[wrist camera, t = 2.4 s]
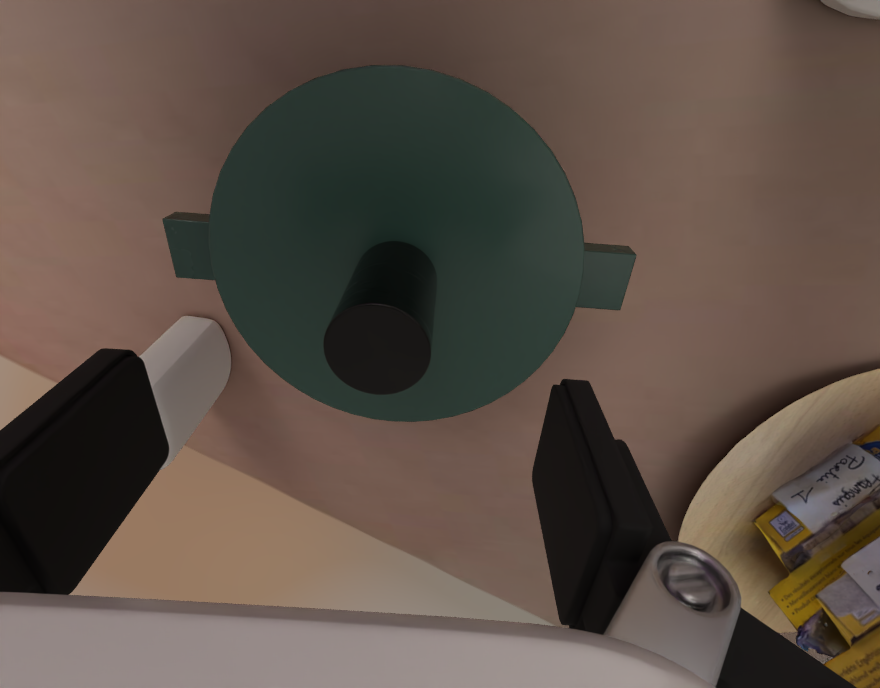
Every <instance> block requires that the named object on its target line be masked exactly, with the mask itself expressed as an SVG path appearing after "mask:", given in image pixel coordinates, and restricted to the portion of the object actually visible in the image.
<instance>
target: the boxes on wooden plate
mask: <svg viewBox="0 0 880 688" xmlns="http://www.w3.org/2000/svg"><path fill="white" fill-rule="evenodd" d="M678 541H679V542H683V543H687V544H691V545H693V546H695V547H698V548H700V549H702V550H704V551H706V552H707V553H709V554H710V555H711V556H713V557H714V558H716V559H717V560H718V561H719V562H720V563H721V564H722V565H723V566H724V567H725V568H726V569H727V570H728V571H729V572H730V574H731V575H732V577H733V578H734V580H735V581H736V583H737V585H738V588H739V591H740V594H741V608H742V609H744V610H745V611H747V612H748V613H750V614H751V615H753V616H754V617H755V618H757V619H758V620H760V621H761V622H763V623H764V624H766V625H767V626H769V627H770V628H771V629H773V630H774V631H776V632H777V633H783V632H784V633H786V632H797V636H796V643H797V645H798V646H800V647H801V648H802V649H804V650H806V651H807V652H808V648H810V649H815V650H816V651H817V653H819V654H825V655H828V656H830V657H833V659H831V660H830V661H828V662H826V663H825V664H823V665H825V666H826V667H828V668H829V669H831V670H832V671H834V672H835V673H836V674H838V675H839V676H841V677H842V678H844V679H845V680H847V681H848V682H849V683H851V684H852V685H854V686H855V687H857V688H880V369H877V370H872V371H870V372H865V373H861V374H857V375H855V376H852V377H849V378H846V379H843V380H840V381H837V382H835V383H833V384H830V385H828V386H826V387H824V388H822V389H820V390H817V391H815V392H813V393H811V394H809V395H807V396H805V397H803V398H802V399H799V400H797V401H796V402H794V403H792V404H790V405H788V406H787V407H786V408H784V409H782V410H781V411H779V412H778V413H776V414H775V415H773V416H772V417H770V418H769V419H768V420H766V421H765V422H764V423H762V424H761V425H759V426H758V427H757V428H756V429H755V430H753V431H752V432H751V433H750V434H748V435H747V436H746V437H745V438H743V439H742V440H741V441H740V442H739V443H738V444H736V445H735V447H734V448H732V449H731V450H730V451H729V453H728V454H727V455H726V456H725V458H724V459H723V460H721V461H720V462H719V463H718V465H717V466H716V467H715V468H714V469H713V471H712V472H711V473H710V475H709V476H708V477H707V479H706V480H705V481H704V482H703V484H702V485H701V487H700V489H699V490H698V492H697V493H696V495H695V497H694V498H693V500H692V502H691V504H690V506H689V508H688V511H687V512H686V515H685V517H684V521H683V524H682V526H681V529H680V533H679V538H678ZM827 660H828V658H827Z"/></svg>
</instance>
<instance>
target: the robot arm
mask: <svg viewBox="0 0 880 688" xmlns="http://www.w3.org/2000/svg"><path fill="white" fill-rule="evenodd" d="M820 1H821V2H822V3H824V4H825V5H826V6H828V7H831V8H833V9H835V10H838V11H840V12H842V13H844V14H847V15H849V16H854V17H861V18H868V19H875V20H880V0H820ZM168 455H169V444H168V440H167V437H166V434H165V430H164V427H163V424H162V420H161V417H160V414H159V410H158V407H157V404H156V400H155V397H154V394H153V390H152V387H151V384H150V380H149V377H148V374H147V371H146V367H145V364H144V361H143V360H142V359H141V358H140V357H137V355H136V354H135V353H134V352H133V351H131V350H122V349H107V348H105V349H101V350H99V351H97V352H96V353H95V354H94V355H92V356H91V357H90V358H89V359H87V360H86V361H85V362H84V363H82V364H81V365H80V366H79V367H78V368H76V369H75V370H74V371H73V372H71V373H70V374H69V375H68V376H67V377H65V378H64V379H63V380H62V381H60V382H59V383H58V384H57V385H56V386H54V387H53V388H52V389H51V390H49V391H48V392H47V393H46V394H44V395H43V396H42V397H41V398H40V399H38V400H37V401H36V402H35V403H33V405H31V406H30V407H29V408H28V409H26V410H25V411H24V412H22V413H21V414H20V415H19V416H18V417H16V418H15V419H14V420H13V421H11V422H10V423H9V424H8V425H6V426H5V427H4V428H3V429H2V430H0V688H857V687H855V686H854V685H852V684H851V683H849V682H848V681H847V680H845V679H844V678H842V677H841V676H839V675H838V674H836V673H835V672H834V671H832V670H831V669H829V668H828V667H826V666H825V665H823V664H822V663H821V662H819V661H818V660H816V659H815V658H813V657H812V656H810V655H809V654H808V653H806V652H805V651H803V650H802V649H800V648H799V647H797V646H796V645H795V644H793V643H792V642H790V641H789V640H787V639H786V638H784V637H783V636H782V635H780V634H779V633H777V632H776V631H774V630H773V629H771V628H770V627H769V626H767V625H766V624H764V623H763V622H761V621H760V620H758V619H757V618H755V617H754V616H753V615H751V614H750V613H748V612H747V611H745V610H744V609H742V608H741V594H740V591H739V588H738V585H737V583H736V581H735V580H734V578H733V577H732V575H731V574H730V572H729V571H728V570H727V569H726V568H725V567H724V566H723V565H722V564H721V563H720V562H719V561H718V560H717V559H716V558H714V557H713V556H711V555H710V554H709V553H707V552H706V551H704V550H702V549H700V548H698V547H695V546H693V545H691V544H687V543H683V542H679V541H671V539H670V537H669V534H668V532H667V530H666V528H665V526H664V524H663V522H662V519H661V517H660V515H659V513H658V511H657V509H656V506H655V504H654V502H653V500H652V498H651V496H650V494H649V491H648V489H647V487H646V485H645V483H644V481H643V478H642V476H641V474H640V472H639V470H638V468H637V466H636V463H635V461H634V459H633V457H632V455H631V453H630V450H629V448H628V447H627V445H626V443H625V442H624V441H622V440H616V439H614V437H613V435H612V433H611V430H610V428H609V426H608V423H607V421H606V419H605V417H604V414H603V412H602V410H601V407H600V405H599V403H598V401H597V398H596V396H595V394H594V391H593V389H592V387H591V385H590V383H589V381H585V380H570V379H563V380H562V381H561V383H560V385H553V387H552V389H551V393H550V398H549V402H548V406H547V411H546V415H545V419H544V423H543V428H542V432H541V436H540V440H539V445H538V449H537V453H536V458H535V462H534V466H533V472H532V482H533V488H534V493H535V498H536V503H537V508H538V514H539V519H540V524H541V529H542V534H543V539H544V544H545V549H546V554H547V559H548V564H549V569H550V575H551V580H552V585H553V590H554V595H555V600H556V605H557V610H558V615H559V619H560V622H561V624H562V625H569V628H563V627H555V626H548V625H539V624H531V623H519V622H506V621H494V620H481V619H469V618H457V617H442V616H426V615H411V614H395V613H379V612H363V611H347V610H331V609H330V610H329V609H314V608H296V607H279V606H262V605H245V604H228V603H208V602H192V601H174V600H156V599H137V598H136V599H135V598H118V597H98V596H79V595H69V594H70V593H71V592H72V591H73V590H74V589H75V588H76V586H77V585H78V583H79V582H80V581H81V579H82V578H83V576H84V575H85V574H86V572H87V571H88V569H89V568H90V567H91V565H92V564H93V563H94V561H95V560H96V558H97V557H98V555H99V554H100V553H101V551H102V550H103V549H104V547H105V546H106V544H107V543H108V542H109V540H110V539H111V537H112V536H113V535H114V533H115V532H116V530H117V529H118V527H119V526H120V525H121V523H122V522H123V521H124V519H125V518H126V516H127V515H128V514H129V512H130V511H131V509H132V508H133V507H134V505H135V504H136V502H137V501H138V500H139V498H140V497H141V495H142V494H143V493H144V491H145V490H146V488H147V487H148V486H149V484H150V483H151V481H152V480H153V479H154V477H155V476H156V474H157V473H158V472H159V470H160V469H161V467H162V466H163V465H164V463H165V462H166V460H167V458H168Z"/></svg>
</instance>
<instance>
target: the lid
mask: <svg viewBox="0 0 880 688" xmlns="http://www.w3.org/2000/svg"><path fill="white" fill-rule="evenodd" d="M209 249H210V257H211V265H212V269H213V273H214V277H215V280H216V284H217V288H218V291H219V293H220V296H221V298H222V300H223V303H224V305H225V308H226V310H227V312H228V314H229V315H230V317H231V319H232V321H233V323H234V324H235V326H236V328H237V330H238V331H239V332H240V334H241V335H242V337H243V338H244V339H245V341H246V342H247V344H248V345H249V346H250V347H251V349H252V350H253V351H254V352H255V353H256V354H257V355H258V356H259V357H260V359H261V360H262V361H263V362H264V363H265V364H266V365H267V366H269V367H270V368H271V369H272V370H273V371H274V372H275V373H276V374H277V375H279V376H280V377H281V378H282V379H284V380H285V381H287V382H288V383H289V384H291V385H292V386H294V387H295V388H296V389H298V390H300V391H301V392H303V393H305V394H307V395H308V396H310V397H312V398H313V399H315V400H317V401H320V402H322V403H324V404H326V405H329V406H331V407H333V408H336V409H339V410H342V411H345V412H348V413H351V414H354V415H358V416H363V417H367V418H372V419H379V420H387V421H402V422H416V421H429V420H437V419H442V418H447V417H453V416H456V415H459V414H463V413H466V412H470V411H473V410H475V409H477V408H480V407H482V406H484V405H487V404H489V403H491V402H493V401H495V400H497V399H498V398H500V397H502V396H504V395H506V394H507V393H509V392H510V391H512V390H513V389H514V388H516V387H517V386H518V385H520V384H521V383H523V382H524V381H525V380H526V379H527V378H528V377H529V376H530V375H532V374H533V373H534V372H535V371H536V370H537V369H538V368H539V367H540V366H541V365H542V364H543V362H544V361H545V360H546V359H547V358H548V356H549V355H550V354H551V353H552V352H553V350H554V349H555V347H556V345H557V344H558V342H559V341H560V339H561V338H562V336H563V335H564V333H565V331H566V328H567V326H568V324H569V322H570V320H571V318H572V316H573V314H574V310H575V307H576V304H577V301H578V298H579V295H580V290H581V285H582V279H583V273H584V251H585V246H584V237H583V228H582V221H581V217H580V213H579V209H578V206H577V202H576V198H575V195H574V193H573V191H572V188H571V186H570V184H569V181H568V179H567V176H566V174H565V172H564V171H563V169H562V167H561V166H560V164H559V162H558V161H557V159H556V157H555V156H554V154H553V152H552V151H551V149H550V148H549V147H548V146H547V144H546V143H545V142H544V141H543V140H542V138H541V137H540V136H539V135H538V133H537V132H536V131H535V130H534V129H533V128H532V127H531V126H530V125H529V124H528V123H527V122H526V121H525V120H524V119H523V118H521V117H520V116H519V115H518V114H517V113H516V112H515V111H514V110H513V109H512V108H510V107H509V106H507V105H506V104H505V103H503V102H502V101H500V100H499V99H497V98H496V97H494V96H493V95H491V94H490V93H488V92H487V91H485V90H483V89H481V88H479V87H477V86H475V85H472V84H470V83H468V82H466V81H464V80H462V79H460V78H457V77H454V76H450V75H447V74H444V73H441V72H438V71H434V70H430V69H424V68H418V67H411V66H405V65H370V66H363V67H357V68H350V69H343V70H339V71H336V72H333V73H330V74H327V75H324V76H321V77H317V78H314V79H312V80H310V81H308V82H306V83H304V84H302V85H300V86H298V87H296V88H294V89H292V90H290V91H288V92H287V93H286V94H284V95H283V96H281V97H280V98H279V99H277V100H276V101H275V102H273V103H272V104H270V105H269V106H268V107H266V108H265V109H264V110H263V111H262V112H261V113H260V114H259V115H258V116H257V117H256V118H255V119H254V120H253V121H252V122H251V123H250V124H249V125H248V126H247V128H246V129H245V130H244V132H243V133H242V135H241V136H240V137H239V139H238V140H237V142H236V143H235V144H234V146H233V147H232V149H231V151H230V153H229V155H228V157H227V159H226V161H225V163H224V165H223V167H222V169H221V171H220V174H219V177H218V180H217V183H216V186H215V190H214V193H213V197H212V204H211V210H210V216H209Z"/></svg>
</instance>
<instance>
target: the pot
mask: <svg viewBox="0 0 880 688" xmlns="http://www.w3.org/2000/svg"><path fill="white" fill-rule="evenodd" d="M209 216H210V214H198V213H185V212H174V213H172V214H171V215H169V216H167V217H165V218H163V224H164V228H165V232H166V236H167V240H168V245H169V249H170V253H171V257H172V261H173V266H174V270H175V274H176V277H178V278H192V279H205V280H215V277H214V273H213V269H212V265H211V257H210V249H209ZM584 246H585V251H584V273H583V279H582V285H581V290H580V295H579V298H578V301H577V304H576V307H582V308H596V309H609V310H620V309H621V306H622V302H623V299H624V296H625V292H626V289H627V286H628V282H629V279H630V276H631V272H632V269H633V266H634V262H635V259H636V254H635V253H634V252H633V250H632V249H631V248H630V247H629V246H619V245H606V244H593V243H584Z"/></svg>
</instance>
